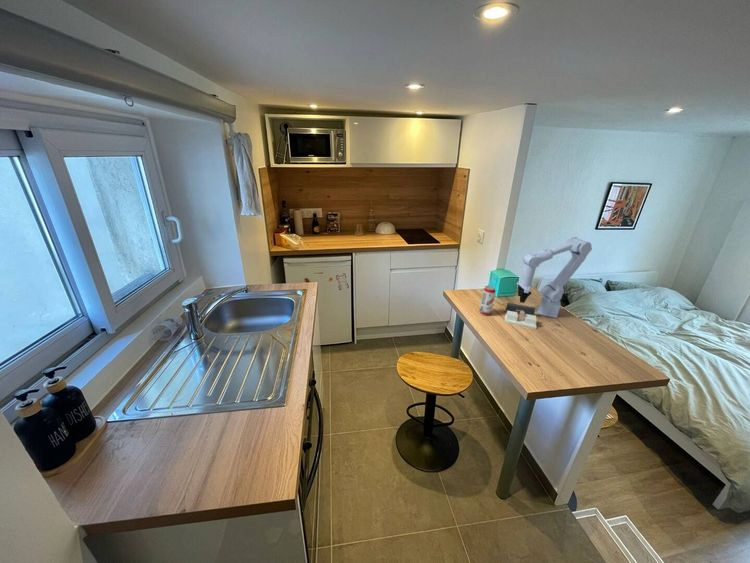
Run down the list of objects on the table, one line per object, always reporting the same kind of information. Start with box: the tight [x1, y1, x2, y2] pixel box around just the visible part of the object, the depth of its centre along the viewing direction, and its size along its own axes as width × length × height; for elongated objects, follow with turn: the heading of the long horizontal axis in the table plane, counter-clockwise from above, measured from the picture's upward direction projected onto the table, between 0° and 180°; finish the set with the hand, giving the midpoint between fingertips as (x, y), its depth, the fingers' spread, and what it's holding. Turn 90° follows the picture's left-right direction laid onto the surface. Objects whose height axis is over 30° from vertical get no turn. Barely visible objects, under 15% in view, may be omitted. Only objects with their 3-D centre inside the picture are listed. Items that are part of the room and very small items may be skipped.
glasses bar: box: [505, 302, 536, 317], centre depth 161 cm, size 14×2×5 cm, turn 69°
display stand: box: [504, 310, 537, 330], centre depth 153 cm, size 15×8×6 cm, turn 69°
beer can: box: [479, 285, 496, 316], centre depth 159 cm, size 6×6×16 cm
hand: (521, 299), depth 158 cm, fingers open, 7 cm apart
